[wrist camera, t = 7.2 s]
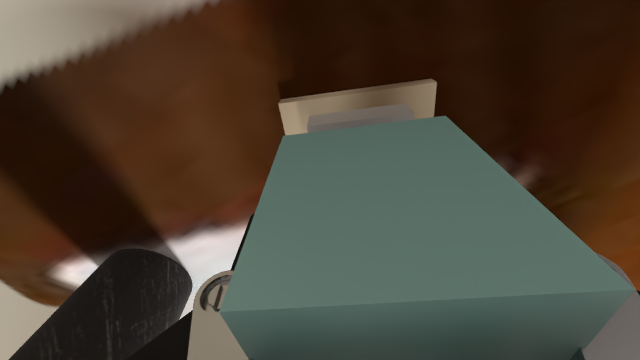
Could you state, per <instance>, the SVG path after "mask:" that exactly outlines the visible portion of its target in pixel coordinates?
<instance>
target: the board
mask: <svg viewBox="0 0 640 360" xmlns="http://www.w3.org/2000/svg"><path fill="white" fill-rule="evenodd" d="M436 87H437V82H436V81H434V80H433V79H425V80H418V81H410V82H403V83H396V84H389V85H381V86H374V87H367V88H360V89H352V90H345V91H338V92H331V93H324V94H316V95H309V96H302V97H295V98H287V99H281V100H280V102H279V109H280V113H281V117H282V122H283V126H284V130H285V135H294V134H302V133H308V130H307V123H308V119H309V116H310V115H318V114H326V113H334V112H341V111H349V110H357V109H364V108H372V107H380V106H387V105H395V104H403V103H406V104H407V105H408V106H409V107H410V108H411V110H412V111H413V112H414V120H415V119H423V118H431V117H434V109H435V98H436Z"/></svg>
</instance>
